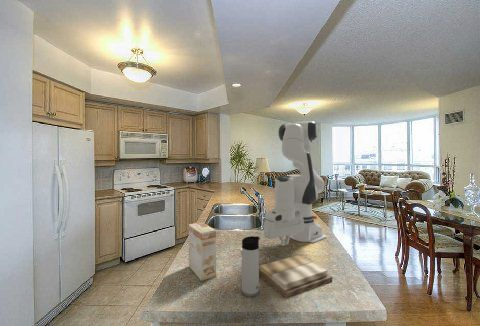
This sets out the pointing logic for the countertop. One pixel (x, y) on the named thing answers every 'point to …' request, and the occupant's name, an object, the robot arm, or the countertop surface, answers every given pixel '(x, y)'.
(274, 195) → the robot arm
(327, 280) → the walnut board
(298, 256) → the honey oak plank
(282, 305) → the countertop surface
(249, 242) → the travel mug
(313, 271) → the pale ash plank
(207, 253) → the coffeecake box
